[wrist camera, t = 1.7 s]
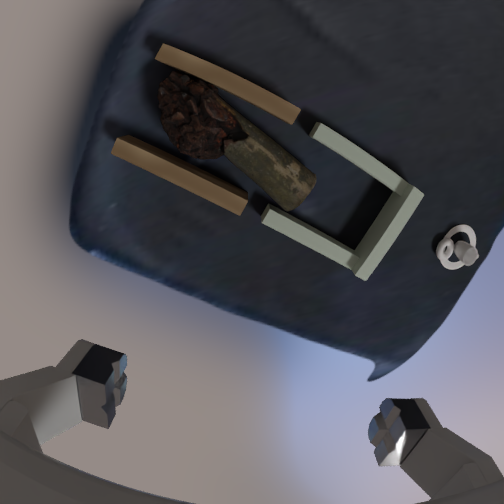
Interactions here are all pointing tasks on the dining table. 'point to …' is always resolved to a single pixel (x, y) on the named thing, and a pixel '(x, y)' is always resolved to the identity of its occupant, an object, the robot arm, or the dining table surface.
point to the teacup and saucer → (458, 248)
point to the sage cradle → (379, 232)
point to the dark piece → (229, 139)
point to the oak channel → (183, 170)
